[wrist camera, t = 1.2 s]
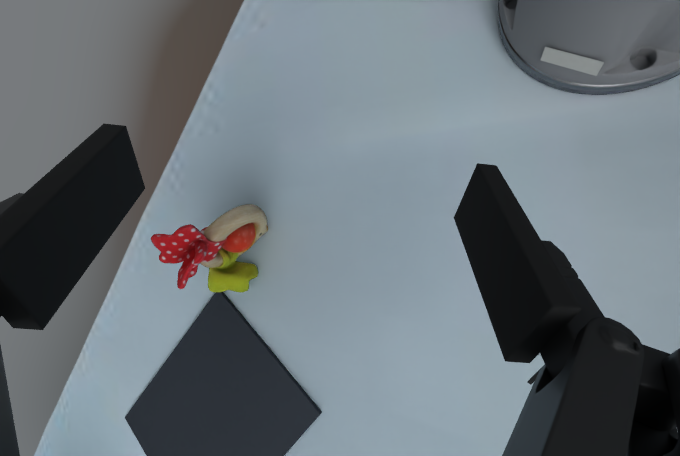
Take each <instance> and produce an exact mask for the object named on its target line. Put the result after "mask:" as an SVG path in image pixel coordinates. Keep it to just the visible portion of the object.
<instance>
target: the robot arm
mask: <svg viewBox="0 0 680 456" xmlns="http://www.w3.org/2000/svg"><path fill="white" fill-rule="evenodd" d="M498 22H499V30H500V35H501V38H502V41H503V44H504V46H505V48H506V50H507V52H508V53H509V55H510V56H511V58H512V59H513V60H514V62H515V63H516V64H517V65H518V66H519V67H520V68H521V69H522V70H523V71H524V72H526V73H527V74H528V75H530V76H531V77H533V78H534V79H536V80H538V81H539V82H541V83H544V84H546V85H548V86H550V87H553V88H556V89H559V90H563V91H567V92H572V93H579V94H591V95H604V94H616V93H623V92H629V91H634V90H638V89H642V88H646V87H649V86H652V85H655V84H658V83H661V82H663V81H666V80H668V79H671V78H673V77H675V76H677V75H679V74H680V0H499V2H498ZM144 189H145V186H144V183H143V180H142V176H141V173H140V170H139V167H138V164H137V160H136V157H135V154H134V151H133V147H132V144H131V141H130V138H129V135H128V131H127V128H126V126H121V125H111V124H103V125H102V126H101V127H100V128H99V129H98V130H96V131H95V132H94V133H93V134H92V135H90V136H89V137H88V138H87V139H86V140H85V141H84V142H82V143H81V144H80V145H79V146H78V147H77V148H76V149H75V150H73V151H72V152H71V153H70V154H69V155H68V156H67V157H65V158H64V159H63V160H62V161H61V162H60V163H59V164H57V165H56V166H55V167H54V168H53V169H52V170H51V171H50V172H48V173H47V174H46V175H45V176H44V177H43V178H42V179H40V180H39V181H38V182H37V183H36V184H35V185H34V186H33V187H31V188H30V189H29V190H28V191H27V192H26V193H25V194H22V193H18V194H16V195H14V196H12V197H10V198H8V199H6V200H4V201H2V202H0V317H1V316H3V317H4V318H5V319H6V321H7V322H8V323H9V324H10V325H11V326H12V327H13V328H21V329H22V328H23V329H36V330H43V329H44V328H45V326H46V325H47V323H48V322H49V320H50V319H51V318H52V316H53V315H54V314H55V312H56V311H57V310H58V308H59V306H60V305H61V304H62V303H63V301H64V300H65V299H66V297H67V296H68V294H69V293H70V292H71V290H72V289H73V287H74V286H75V285H76V283H77V282H78V281H79V279H80V278H81V276H82V275H83V274H84V272H85V271H86V269H87V268H88V267H89V265H90V264H91V263H92V261H93V260H94V258H95V257H96V256H97V254H98V253H99V251H100V250H101V249H102V247H103V246H104V245H105V243H106V242H107V240H108V239H109V238H110V236H111V235H112V233H113V232H114V231H115V229H116V228H117V227H118V225H119V224H120V222H121V221H122V220H123V218H124V217H125V215H126V214H127V213H128V211H129V210H130V209H131V207H132V206H133V204H134V203H135V202H136V200H137V199H138V197H139V196H140V195H141V193H142V192H143V191H144ZM454 219H455V222H456V225H457V228H458V230H459V233H460V236H461V239H462V242H463V244H464V247H465V250H466V253H467V256H468V258H469V261H470V264H471V267H472V270H473V272H474V275H475V278H476V281H477V284H478V287H479V289H480V292H481V295H482V298H483V301H484V303H485V306H486V309H487V312H488V315H489V317H490V320H491V323H492V326H493V329H494V331H495V334H496V337H497V340H498V343H499V345H500V348H501V351H502V354H503V357H504V359H505V361H508V362H523V363H530V362H531V361H532V360H533V359H534V358H535V357H536V356H537V355H538V354H539V353H540V354H541V356H542V358H543V360H544V363H545V365H544V366H543V367H542V368H541V369H540V370H539V371H538V372H537V373H535V374H534V375H533V376H532V377H531V378H530V380H529V381H528V383H529V384H532V383H533V382H534V381H535V382H534V384H533V386H532V389H531V391H530V393H529V396H528V398H527V400H526V402H525V405H524V407H523V409H522V412H521V414H520V416H519V418H518V421H517V423H516V425H515V428H514V430H513V432H512V434H511V437H510V439H509V441H508V444H507V446H506V448H505V451H504V453H503V455H502V456H680V348H679V349H678V350H676V351H675V352H674V353H672V354H668V353H666V352H663V351H660V350H657V349H654V348H651V347H648V346H645V345H642V344H641V342H640V340H639V339H638V338H637V337H636V336H635V335H634V333H633V332H632V331H631V330H629V329H628V328H627V327H625V326H624V325H622V324H621V323H619V322H617V321H615V320H612V319H610V318H605V317H604V315H603V314H602V312H601V311H600V309H599V308H598V306H597V305H596V303H595V301H594V300H593V298H592V297H591V295H590V294H589V292H588V291H587V289H586V287H585V286H584V284H583V283H582V281H581V280H580V279H578V275H577V273H576V272H575V270H574V269H573V268H571V264H570V262H569V261H568V259H567V258H566V256H565V255H564V253H563V252H562V251H561V250H559V249H558V248H557V247H556V246H555V245H554V244H553V243H552V242H551V241H541V239H540V238H539V236H538V234H537V233H536V231H535V229H534V228H533V226H532V224H531V223H530V221H529V219H528V218H527V216H526V214H525V213H524V211H523V209H522V208H521V206H520V204H519V203H518V201H517V199H516V198H515V196H514V194H513V193H512V191H511V189H510V188H509V186H508V184H507V183H506V181H505V179H504V178H503V176H502V174H501V172H500V171H499V169H498V167H497V166H495V165H486V164H477V165H476V168H475V170H474V172H473V175H472V177H471V179H470V182H469V184H468V186H467V189H466V191H465V193H464V196H463V198H462V200H461V203H460V205H459V207H458V209H457V212H456V214H455V216H454ZM677 430H678V432H677ZM0 456H20V455H19V448H18V443H17V437H16V431H15V426H14V420H13V414H12V409H11V403H10V398H9V391H8V386H7V380H6V374H5V369H4V363H3V357H2V351H1V346H0Z"/></svg>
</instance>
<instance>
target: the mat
mask: <svg viewBox="0 0 680 456" xmlns="http://www.w3.org/2000/svg"><path fill="white" fill-rule="evenodd" d="M321 413H322V412H321V411H320V409H319V408H318V407H317V406H316V405H315V403H314V402H313V401H312V400H311V399H310V397H309V396H308V395H307V394H306V392H305V391H304V390H303V389H302V388H301V386H300V385H299V384H298V383H297V382H296V380H295V379H294V378H293V377H292V375H291V374H290V373H289V372H288V371H287V369H286V368H285V367H284V366H283V365H282V363H281V362H280V361H279V360H278V359H277V357H276V356H275V355H274V354H273V352H272V351H271V350H270V349H269V348H268V346H267V345H266V344H265V343H264V342H263V340H262V339H261V338H260V337H259V335H258V334H257V333H256V332H255V331H254V329H253V328H252V327H251V326H250V325H249V323H248V322H247V321H246V320H245V319H244V317H243V316H242V315H241V314H240V312H239V311H238V310H237V309H236V308H235V306H234V305H233V304H232V303H231V302H230V300H229V299H228V298H227V297H226V295H225V294H224V293H223V292H216V293H215V294H214V296H213V297H212V298H211V300H210V301H209V303H208V304H207V305H206V307H205V308H204V309H203V311H202V312H201V314H200V315H199V316H198V318H197V319H196V320H195V322H194V323H193V325H192V326H191V327H190V329H189V330H188V331H187V333H186V334H185V336H184V337H183V338H182V340H181V341H180V342H179V344H178V345H177V347H176V348H175V349H174V351H173V352H172V353H171V355H170V356H169V358H168V359H167V360H166V362H165V363H164V364H163V366H162V367H161V369H160V370H159V371H158V373H157V374H156V375H155V377H154V378H153V380H152V381H151V382H150V384H149V385H148V387H147V388H146V389H145V391H144V392H143V393H142V395H141V396H140V398H139V399H138V400H137V402H136V403H135V404H134V406H133V407H132V409H131V410H130V411H129V413H128V414H127V415H126V417H125V419H126V420H127V422H128V424H129V426H130V427H131V429H132V431H133V433H134V434H135V436H136V438H137V440H138V441H139V443H140V445H141V447H142V448H143V450H144V452H145V454H146V455H147V456H284V455H285V454H286V452H287V451H288V450H289V449H290V448H291V447H292V446H293V445H294V443H295V442H296V441H297V440H298V439H299V438H300V437H301V435H302V434H303V433H304V432H305V431H306V430H307V429H308V427H309V426H310V425H311V424H312V423H313V422H314V421H315V420H316V418H317V417H318V416H319V415H320V414H321Z"/></svg>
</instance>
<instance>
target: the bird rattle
mask: <svg viewBox="0 0 680 456" xmlns="http://www.w3.org/2000/svg"><path fill="white" fill-rule="evenodd" d="M266 224H267V218H266V215H265V213H264V212H263V211H262V210H261V209H260V208H259V207H258V206H256V205H252V204H247V205H242V206H238V207H236V208H233V209H231V210H230V211H228V212H226V213H224V214H223V215H221V216H220V217H219V218H217V219H216V220H215V221H214V222H213V223H211V224H210V225H209V226H208V227H206V228H204V229H202V230H201V231H199V230H198V229H197V228H196V227H195V226H193V225H191V224H190V225H185V226H182V227H180V228H179V229H177V230H176V231H175V232H174V234H172V235H166V234H154V235H153V236H152V237H151V240H152V243H153V244H154V246H155V247H156V248H158V249H159V250H160V251H161V254H160V255H159V260H160V261H161V262H163V263H179V262H182V261H184V262H183V264H182V266H181V268H180V269H179V272H178V282H177V285H178V288H179V289H183V288H184V287H185V286H186V283H187V281H188V278H190V277H192V276H194V275H195V274H196V272H197V267H198V264H199V263H201V264H202V265H203V266H205V267H209V276H208V288H209V290H210V291H212V292H223V291H226V290H232V291H236V292H245V291H247V290H248V289H249V281H250V280H251V279H253V278H256V277H257V275H258V270H257V267H256V266H255V265H254V264H250V263H244V262H238V261H235V260H236V259H237V257H238V256H240V255H241V254H243V253H244V252H245V251H246V250H248V249H249V248H250V247H251V246H252V245H253V244H254V243H255V242H256V241H257V240H258V239H259V238H260V237H261V236H262V235H263V234H265V233H266V232H267V230H268V226H267V225H266Z"/></svg>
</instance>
